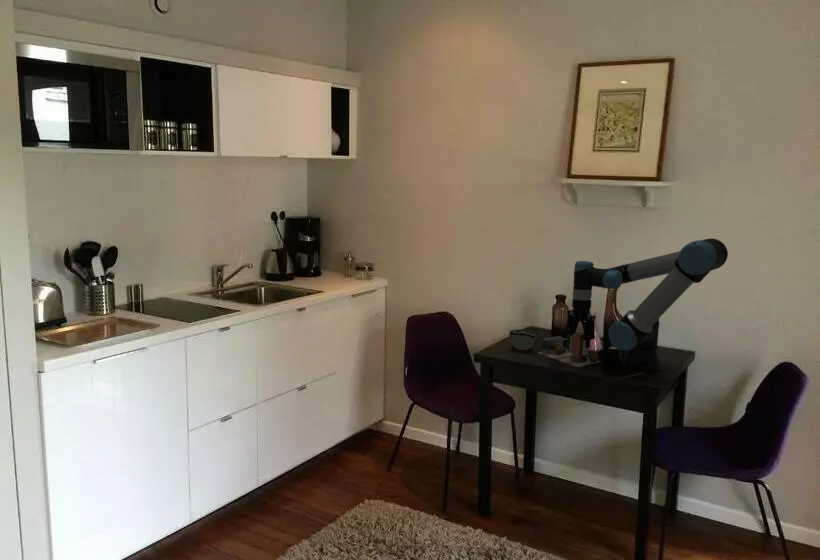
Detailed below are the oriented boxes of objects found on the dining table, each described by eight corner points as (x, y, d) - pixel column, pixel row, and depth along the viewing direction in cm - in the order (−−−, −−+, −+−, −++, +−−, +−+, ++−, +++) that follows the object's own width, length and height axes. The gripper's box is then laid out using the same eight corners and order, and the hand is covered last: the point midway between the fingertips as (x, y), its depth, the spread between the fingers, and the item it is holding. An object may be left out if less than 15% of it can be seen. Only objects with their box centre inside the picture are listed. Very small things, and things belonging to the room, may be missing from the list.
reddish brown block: (587, 360, 289) (589, 334, 286) (578, 362, 286) (580, 335, 284) (578, 357, 293) (580, 331, 291) (569, 359, 290) (571, 333, 288)
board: (601, 364, 288) (601, 361, 288) (577, 369, 281) (577, 367, 280) (560, 350, 308) (560, 348, 308) (536, 354, 300) (536, 352, 300)
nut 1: (565, 354, 298) (566, 344, 298) (558, 355, 296) (559, 346, 295) (558, 351, 302) (559, 342, 301) (551, 353, 300) (552, 343, 299)
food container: (539, 353, 303) (540, 331, 301) (535, 356, 298) (536, 334, 296) (512, 349, 308) (513, 327, 307) (508, 353, 303) (509, 330, 301)
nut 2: (600, 361, 288) (600, 352, 287) (593, 363, 286) (593, 353, 285) (592, 359, 291) (593, 349, 291) (585, 360, 289) (586, 351, 288)
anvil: (569, 352, 301) (569, 339, 299) (552, 356, 295) (552, 342, 294) (557, 349, 306) (558, 335, 305) (541, 352, 301) (541, 338, 300)
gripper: (606, 302, 278) (603, 357, 283) (571, 293, 295) (568, 345, 299) (593, 304, 274) (590, 359, 279) (558, 295, 291) (555, 348, 295)
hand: (579, 352), depth 289 cm, fingers open, 7 cm apart
